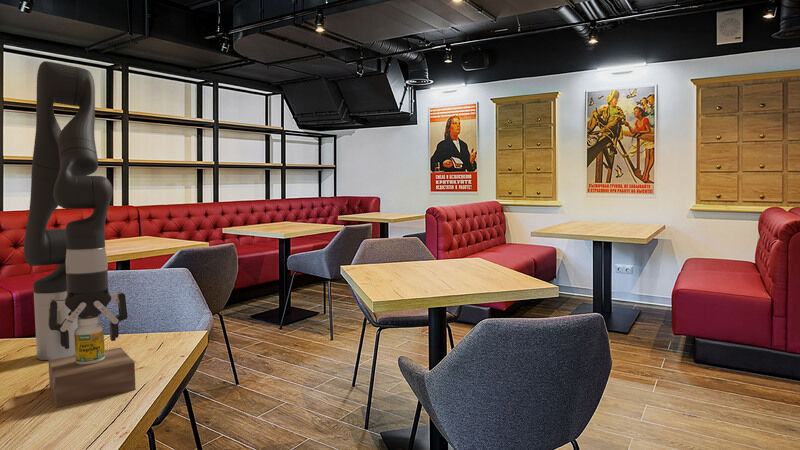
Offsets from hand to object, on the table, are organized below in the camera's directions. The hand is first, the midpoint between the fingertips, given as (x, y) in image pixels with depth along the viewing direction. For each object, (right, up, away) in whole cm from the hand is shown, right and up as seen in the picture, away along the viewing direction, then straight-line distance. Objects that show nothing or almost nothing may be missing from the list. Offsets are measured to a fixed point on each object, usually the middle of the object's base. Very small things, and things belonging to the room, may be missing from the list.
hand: (90, 344), depth 108 cm
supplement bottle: (0, -4, 0) cm, 4 cm away
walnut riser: (0, -10, 0) cm, 10 cm away
